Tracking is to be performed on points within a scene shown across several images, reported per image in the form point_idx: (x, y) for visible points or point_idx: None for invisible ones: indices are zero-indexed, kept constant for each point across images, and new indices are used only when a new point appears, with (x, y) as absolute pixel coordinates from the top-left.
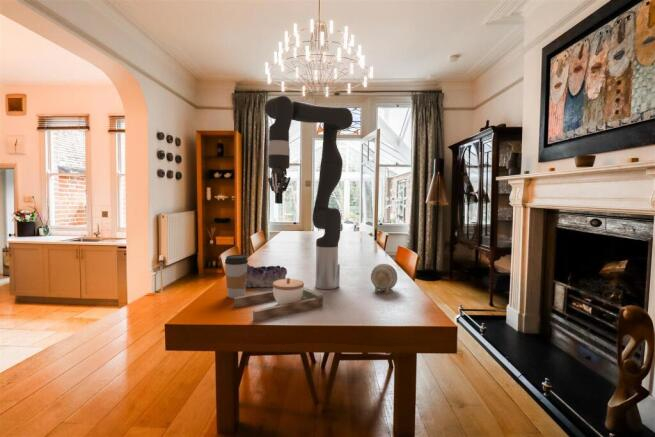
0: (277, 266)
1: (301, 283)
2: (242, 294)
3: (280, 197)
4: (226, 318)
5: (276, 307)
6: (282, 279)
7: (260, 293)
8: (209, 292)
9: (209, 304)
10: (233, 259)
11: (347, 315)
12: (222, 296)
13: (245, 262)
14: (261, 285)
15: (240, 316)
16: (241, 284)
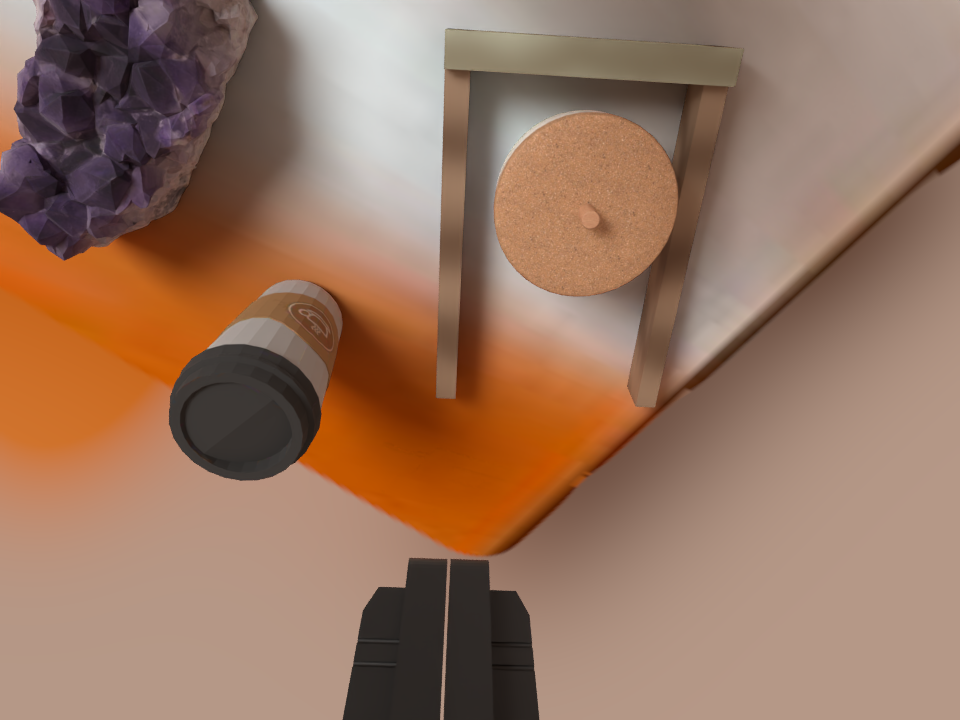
0: (115, 6)
1: (657, 160)
2: (338, 311)
3: (507, 695)
4: (546, 442)
5: (673, 324)
6: (504, 202)
7: (447, 283)
8: None
9: (359, 437)
10: (294, 459)
11: (905, 31)
12: None
13: (304, 382)
14: (205, 143)
15: (560, 402)
16: (335, 343)
